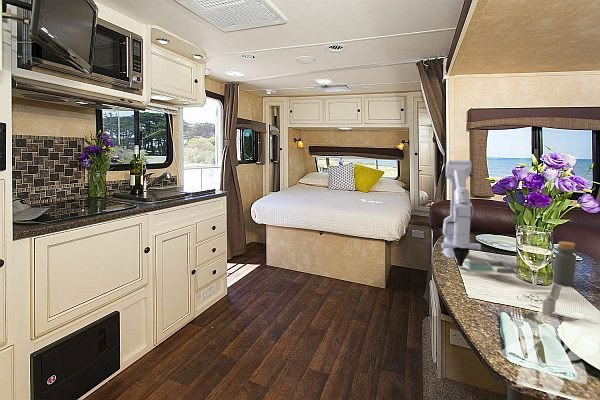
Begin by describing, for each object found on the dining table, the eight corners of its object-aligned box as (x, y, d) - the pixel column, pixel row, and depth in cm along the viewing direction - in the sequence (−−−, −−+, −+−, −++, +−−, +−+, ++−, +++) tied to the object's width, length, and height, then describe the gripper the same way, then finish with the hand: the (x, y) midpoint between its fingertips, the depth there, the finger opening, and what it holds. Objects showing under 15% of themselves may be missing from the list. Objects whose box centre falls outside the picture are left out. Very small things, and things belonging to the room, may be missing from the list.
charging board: (472, 275, 127) (472, 269, 127) (459, 263, 141) (460, 258, 141) (516, 276, 125) (517, 271, 125) (499, 264, 139) (499, 259, 139)
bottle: (577, 287, 115) (581, 245, 113) (558, 285, 116) (562, 244, 114) (567, 280, 121) (571, 241, 119) (549, 279, 122) (553, 240, 120)
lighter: (548, 316, 95) (551, 289, 94) (541, 313, 96) (544, 287, 95) (559, 310, 98) (561, 284, 97) (552, 307, 100) (554, 282, 99)
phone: (470, 269, 131) (471, 265, 131) (466, 265, 136) (466, 261, 136) (492, 270, 130) (492, 266, 130) (486, 266, 135) (486, 262, 135)
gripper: (445, 235, 129) (444, 268, 131) (485, 236, 127) (482, 269, 129) (440, 231, 136) (439, 262, 138) (477, 231, 134) (475, 263, 136)
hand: (459, 265), depth 134 cm, fingers closed
